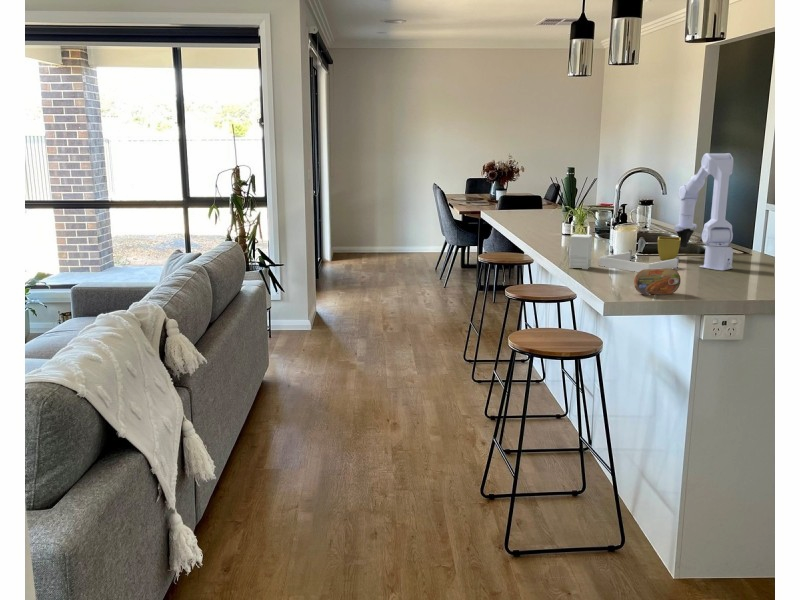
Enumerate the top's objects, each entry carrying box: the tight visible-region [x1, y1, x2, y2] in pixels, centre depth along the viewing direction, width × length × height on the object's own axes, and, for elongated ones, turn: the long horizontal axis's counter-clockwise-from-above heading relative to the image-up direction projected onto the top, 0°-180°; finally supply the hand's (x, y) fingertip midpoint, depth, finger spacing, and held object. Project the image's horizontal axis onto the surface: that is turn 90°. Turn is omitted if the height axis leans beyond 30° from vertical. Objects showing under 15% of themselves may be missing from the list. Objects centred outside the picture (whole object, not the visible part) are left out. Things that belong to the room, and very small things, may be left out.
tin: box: [633, 268, 682, 296], centre depth 223 cm, size 15×3×8 cm, turn 100°
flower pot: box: [657, 236, 681, 261], centre depth 288 cm, size 9×9×9 cm
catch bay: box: [598, 249, 680, 273], centre depth 272 cm, size 22×21×4 cm
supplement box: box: [568, 233, 593, 270], centre depth 269 cm, size 7×7×13 cm
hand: (683, 246), depth 295 cm, fingers closed
